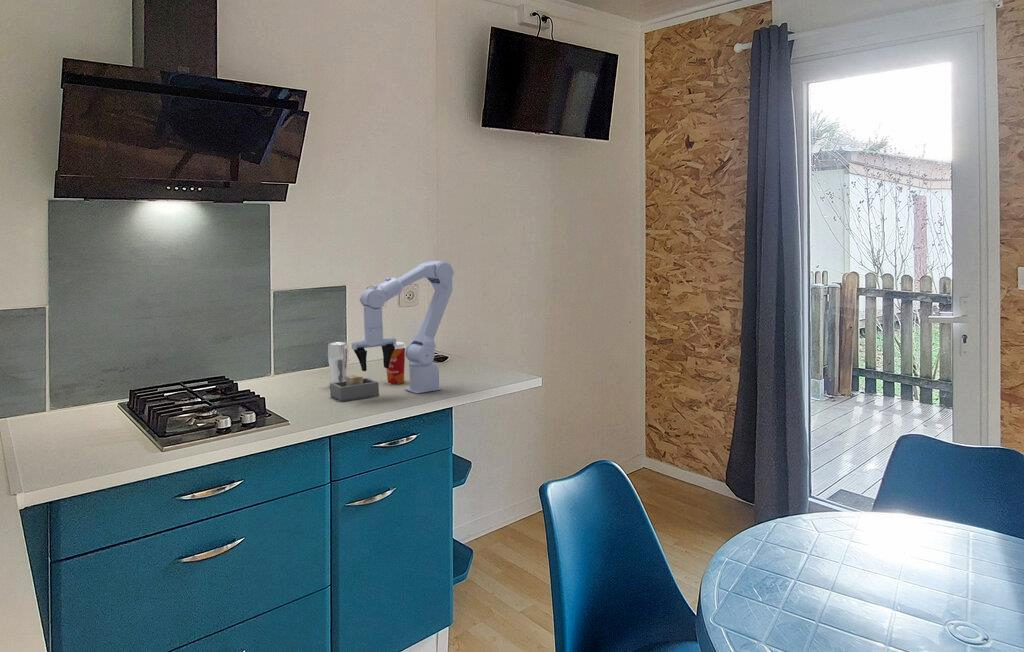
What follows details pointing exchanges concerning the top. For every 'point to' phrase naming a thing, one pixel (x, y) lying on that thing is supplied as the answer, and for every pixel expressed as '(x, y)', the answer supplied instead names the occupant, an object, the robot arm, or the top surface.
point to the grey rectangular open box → (354, 390)
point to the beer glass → (338, 360)
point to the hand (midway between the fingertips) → (375, 369)
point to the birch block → (354, 380)
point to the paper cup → (397, 364)
